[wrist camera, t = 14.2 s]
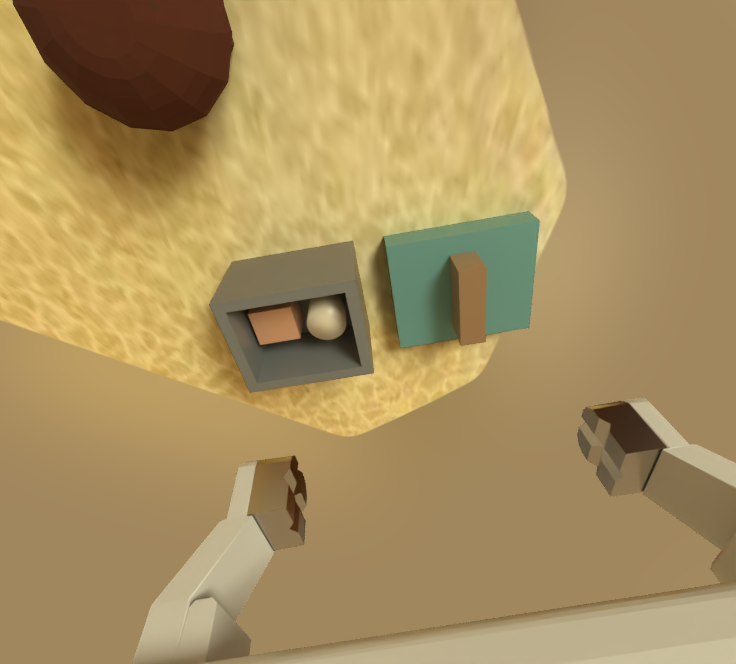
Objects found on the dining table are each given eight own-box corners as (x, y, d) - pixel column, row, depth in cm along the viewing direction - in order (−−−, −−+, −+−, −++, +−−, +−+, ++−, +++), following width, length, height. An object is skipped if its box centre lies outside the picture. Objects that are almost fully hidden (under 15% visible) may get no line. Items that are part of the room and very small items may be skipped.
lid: (397, 334, 44) (404, 369, 39) (383, 236, 38) (389, 263, 33) (520, 315, 44) (543, 347, 39) (528, 211, 37) (557, 235, 32)
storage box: (263, 342, 44) (250, 392, 37) (231, 261, 38) (209, 304, 32) (369, 325, 43) (373, 373, 37) (352, 240, 38) (355, 279, 31)
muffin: (277, -6, 27) (249, -32, 19) (225, 146, 32) (185, 177, 24) (89, -139, 23) (-49, -244, 15) (64, 58, 28) (-47, 60, 20)
